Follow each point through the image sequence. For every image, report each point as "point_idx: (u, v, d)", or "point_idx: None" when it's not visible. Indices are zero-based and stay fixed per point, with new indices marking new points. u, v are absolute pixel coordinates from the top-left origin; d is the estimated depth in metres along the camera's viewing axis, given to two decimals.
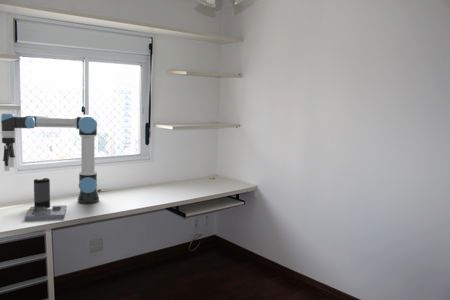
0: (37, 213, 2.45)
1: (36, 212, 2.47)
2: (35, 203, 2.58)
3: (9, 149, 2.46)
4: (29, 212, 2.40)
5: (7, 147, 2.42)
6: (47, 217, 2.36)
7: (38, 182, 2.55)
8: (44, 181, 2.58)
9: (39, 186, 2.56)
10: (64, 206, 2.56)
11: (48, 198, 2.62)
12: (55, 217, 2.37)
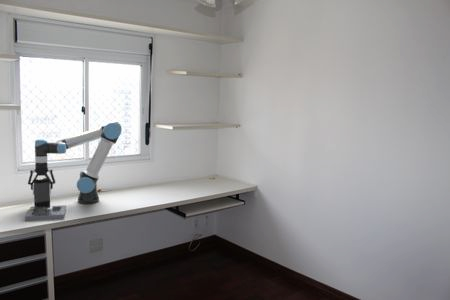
0: (37, 213, 2.45)
1: (36, 212, 2.47)
2: (35, 203, 2.58)
3: None
4: (29, 212, 2.40)
5: None
6: (47, 217, 2.36)
7: (38, 182, 2.55)
8: (44, 181, 2.58)
9: (39, 186, 2.56)
10: (64, 206, 2.56)
11: (48, 198, 2.62)
12: (55, 217, 2.37)
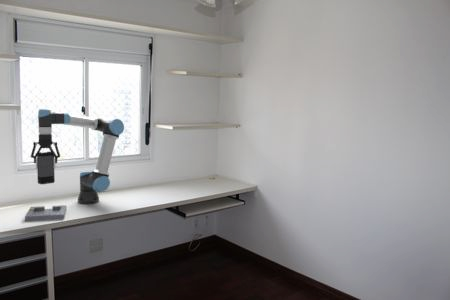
0: (37, 213, 2.45)
1: (36, 212, 2.47)
2: (38, 178, 2.39)
3: None
4: (29, 212, 2.40)
5: None
6: (47, 217, 2.36)
7: (42, 155, 2.36)
8: (48, 154, 2.39)
9: (43, 159, 2.37)
10: (64, 206, 2.56)
11: (52, 173, 2.43)
12: (55, 217, 2.37)
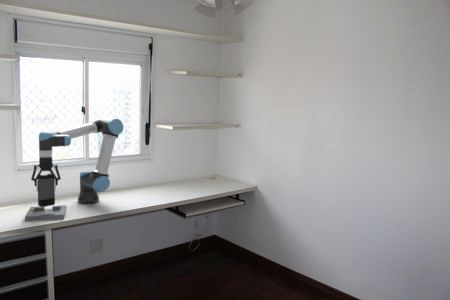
0: (37, 213, 2.45)
1: (36, 212, 2.47)
2: (39, 200, 2.41)
3: None
4: (29, 212, 2.40)
5: (34, 167, 2.39)
6: (47, 217, 2.36)
7: (42, 178, 2.38)
8: (49, 177, 2.41)
9: (43, 182, 2.39)
10: (64, 206, 2.56)
11: (53, 195, 2.45)
12: (55, 217, 2.37)
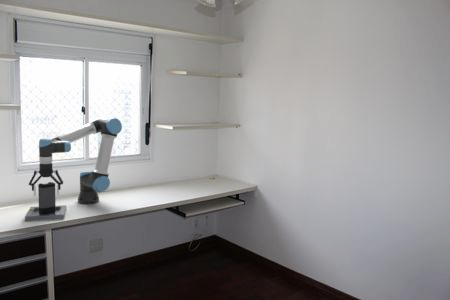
0: (37, 213, 2.45)
1: (36, 212, 2.47)
2: (40, 209, 2.42)
3: None
4: (29, 212, 2.40)
5: (34, 172, 2.39)
6: (47, 217, 2.36)
7: (43, 187, 2.39)
8: (49, 185, 2.42)
9: (44, 191, 2.40)
10: (64, 206, 2.56)
11: (53, 203, 2.45)
12: (55, 217, 2.37)
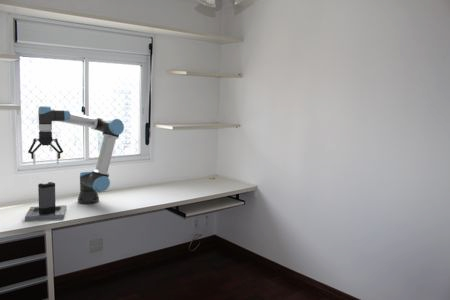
0: (37, 213, 2.45)
1: (36, 212, 2.47)
2: (40, 209, 2.42)
3: None
4: (29, 212, 2.40)
5: None
6: (47, 217, 2.36)
7: (43, 187, 2.39)
8: (49, 185, 2.42)
9: (44, 191, 2.40)
10: (64, 206, 2.56)
11: (53, 203, 2.46)
12: (55, 217, 2.37)
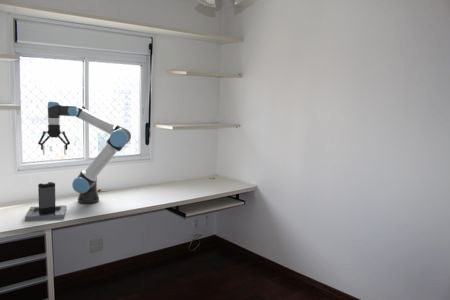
0: (37, 213, 2.45)
1: (36, 212, 2.47)
2: (40, 209, 2.42)
3: None
4: (29, 212, 2.40)
5: (43, 132, 2.58)
6: (47, 217, 2.36)
7: (43, 187, 2.39)
8: (49, 185, 2.42)
9: (44, 191, 2.40)
10: (64, 206, 2.56)
11: (53, 203, 2.46)
12: (55, 217, 2.37)
